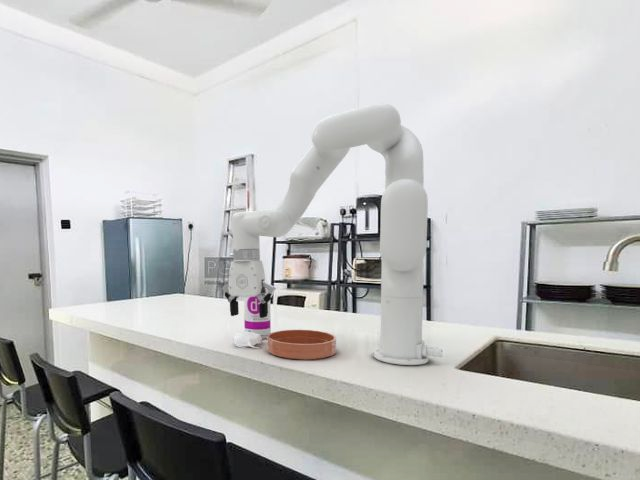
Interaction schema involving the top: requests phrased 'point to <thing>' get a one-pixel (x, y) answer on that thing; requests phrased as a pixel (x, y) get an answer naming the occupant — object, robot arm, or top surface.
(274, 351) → the bowl
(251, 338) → the garlic
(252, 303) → the supplement can
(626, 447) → the top surface
